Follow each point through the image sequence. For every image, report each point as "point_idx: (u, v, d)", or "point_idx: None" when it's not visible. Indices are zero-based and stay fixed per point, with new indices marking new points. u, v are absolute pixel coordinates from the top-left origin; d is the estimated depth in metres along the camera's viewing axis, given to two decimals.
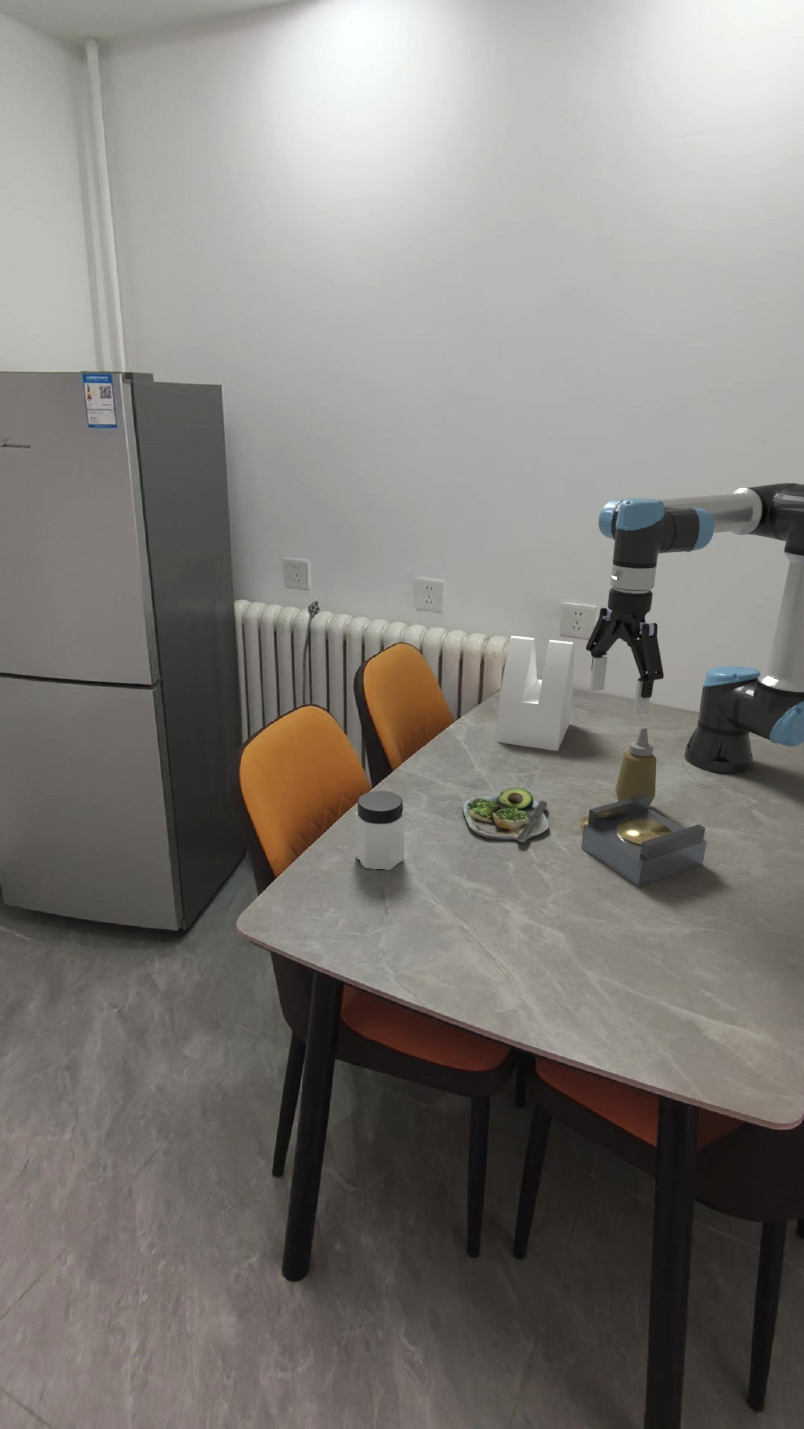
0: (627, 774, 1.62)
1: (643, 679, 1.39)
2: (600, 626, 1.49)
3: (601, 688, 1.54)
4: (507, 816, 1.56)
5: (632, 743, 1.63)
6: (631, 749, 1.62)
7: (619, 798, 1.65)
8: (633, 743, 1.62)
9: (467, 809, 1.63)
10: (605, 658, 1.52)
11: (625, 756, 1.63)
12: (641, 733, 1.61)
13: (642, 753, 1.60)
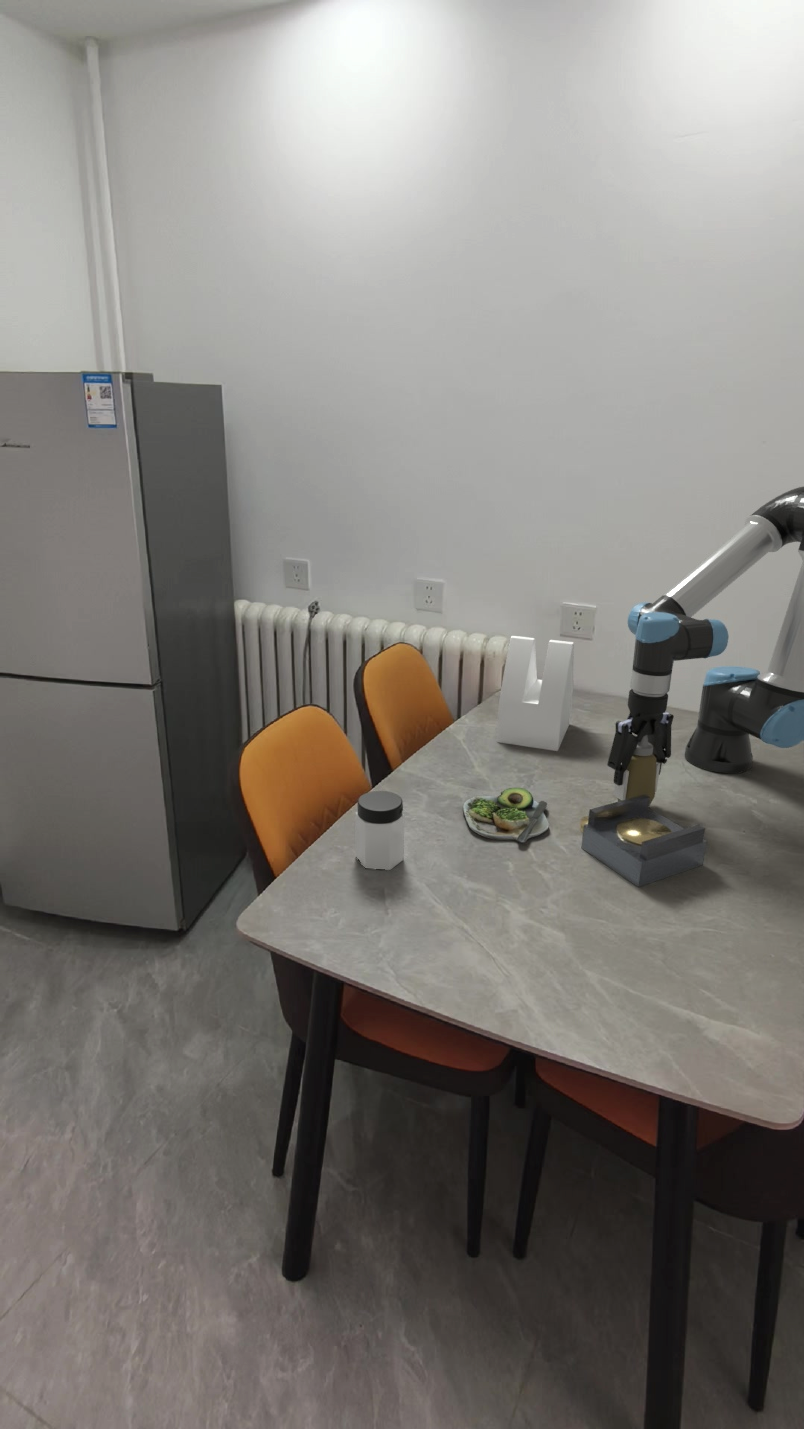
0: None
1: None
2: (659, 727, 1.65)
3: None
4: (507, 816, 1.56)
5: None
6: None
7: None
8: None
9: (467, 809, 1.63)
10: (656, 764, 1.65)
11: None
12: None
13: (642, 753, 1.60)
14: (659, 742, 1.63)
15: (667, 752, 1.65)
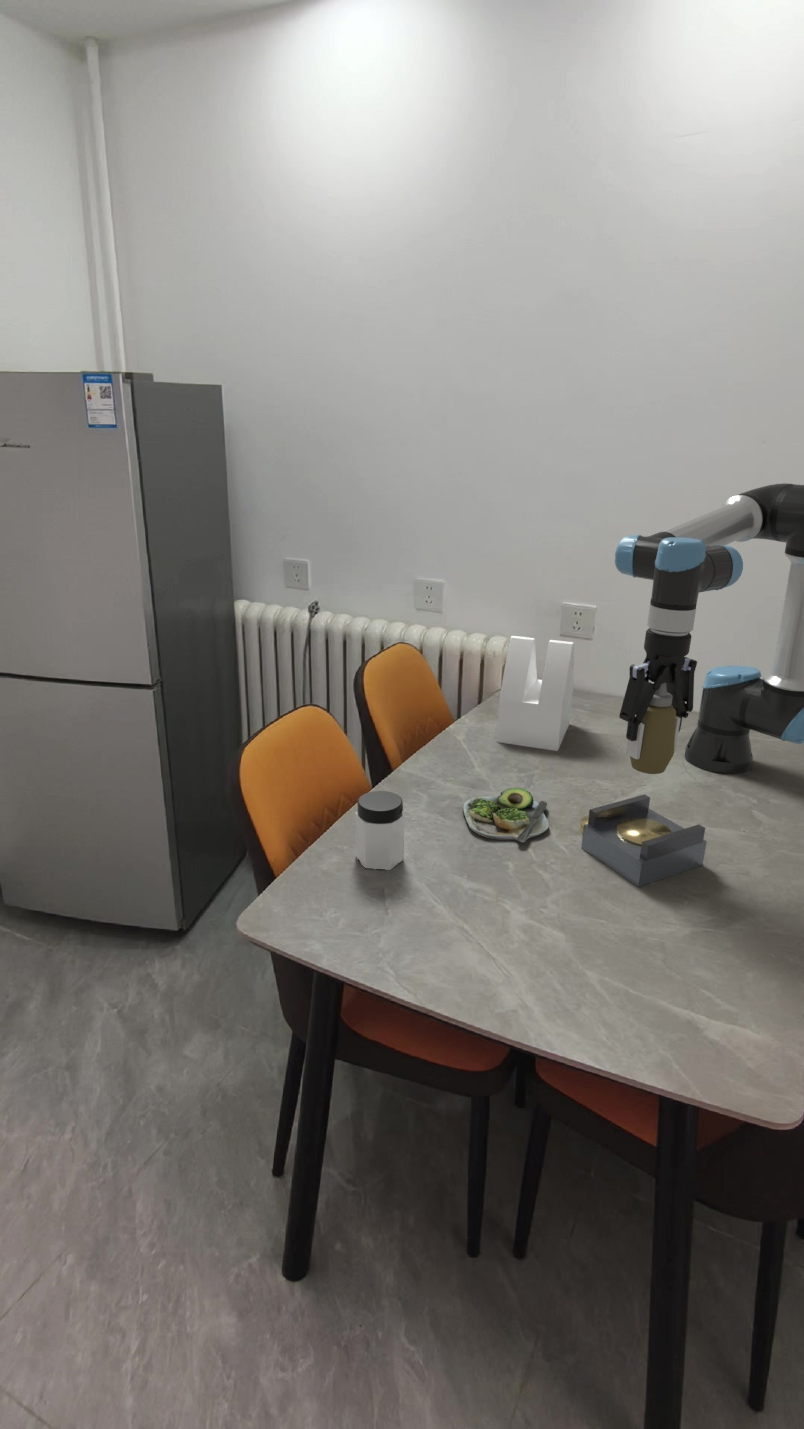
0: None
1: None
2: None
3: None
4: (507, 816, 1.56)
5: None
6: None
7: (632, 757, 1.43)
8: None
9: (467, 809, 1.63)
10: (676, 718, 1.43)
11: None
12: None
13: (660, 703, 1.38)
14: (680, 692, 1.41)
15: (689, 705, 1.43)
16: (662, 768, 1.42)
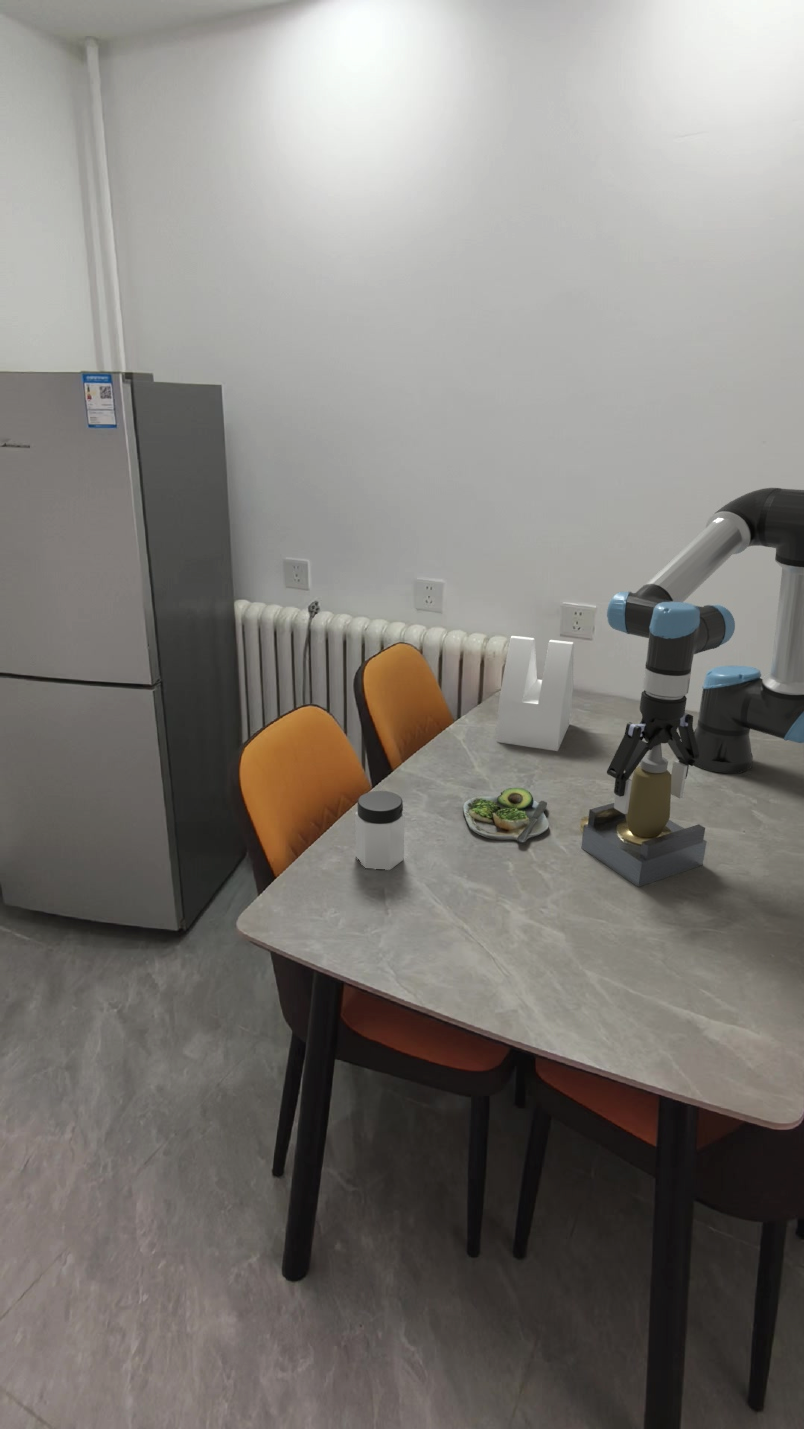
0: (638, 793, 1.42)
1: None
2: (679, 729, 1.44)
3: (677, 795, 1.47)
4: (507, 816, 1.56)
5: (644, 758, 1.42)
6: (643, 765, 1.41)
7: (629, 820, 1.45)
8: (645, 758, 1.42)
9: (467, 809, 1.63)
10: (683, 766, 1.45)
11: (636, 773, 1.42)
12: (654, 747, 1.40)
13: (655, 770, 1.40)
14: (681, 746, 1.42)
15: (694, 754, 1.45)
16: (659, 831, 1.44)
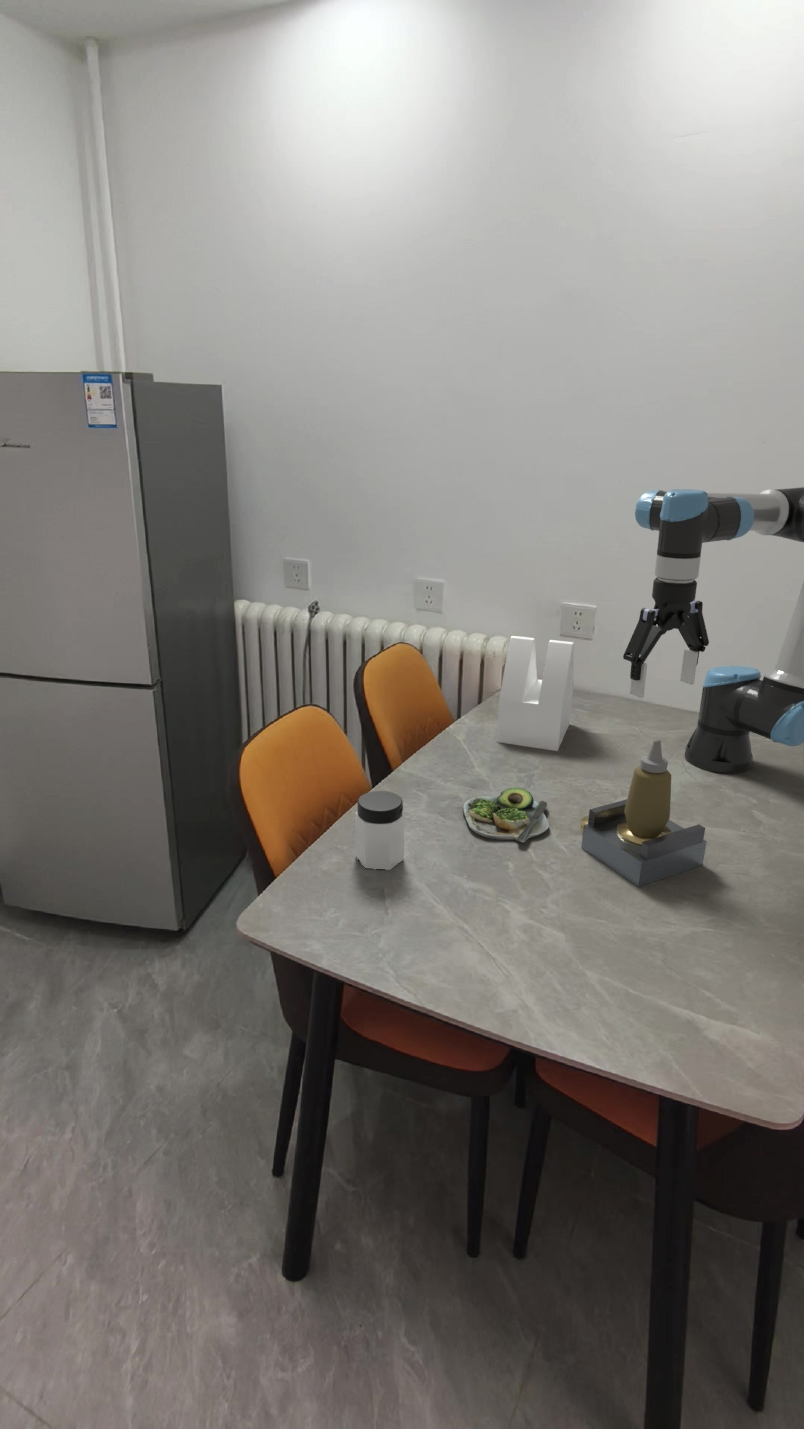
0: (638, 793, 1.42)
1: None
2: (689, 617, 1.51)
3: (688, 682, 1.54)
4: (507, 816, 1.56)
5: (644, 758, 1.42)
6: (643, 765, 1.41)
7: (629, 820, 1.45)
8: (645, 758, 1.42)
9: (467, 809, 1.63)
10: (694, 652, 1.51)
11: (636, 773, 1.42)
12: (654, 747, 1.40)
13: (655, 770, 1.40)
14: (692, 632, 1.49)
15: (704, 641, 1.52)
16: (659, 831, 1.44)
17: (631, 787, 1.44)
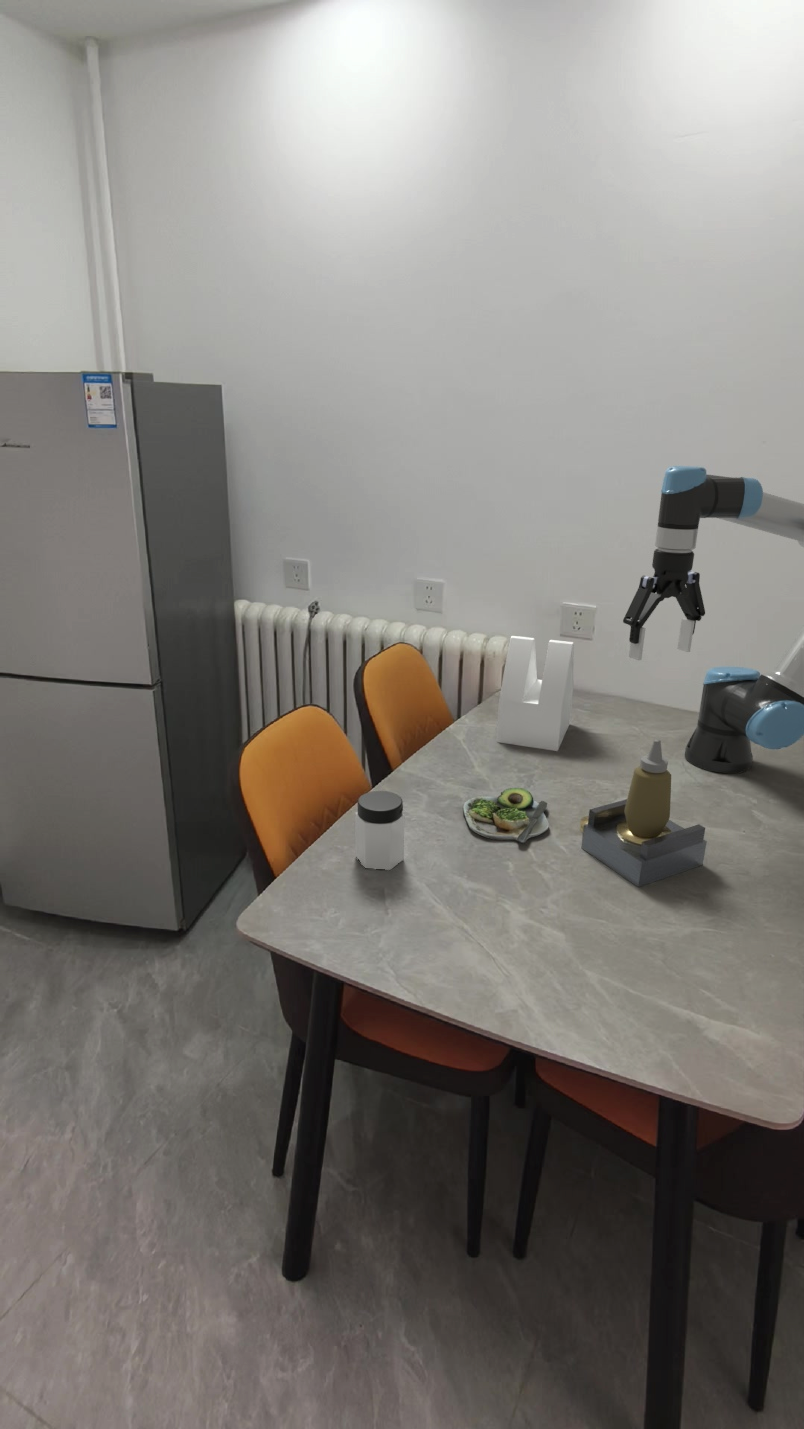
0: (638, 793, 1.42)
1: None
2: (687, 588, 1.61)
3: (685, 650, 1.64)
4: (507, 816, 1.56)
5: (644, 758, 1.42)
6: (643, 765, 1.41)
7: (629, 820, 1.45)
8: (645, 758, 1.42)
9: (467, 809, 1.63)
10: (690, 621, 1.62)
11: (636, 773, 1.42)
12: (654, 747, 1.40)
13: (655, 769, 1.40)
14: (689, 601, 1.59)
15: (701, 611, 1.62)
16: (659, 831, 1.44)
17: (631, 787, 1.44)
